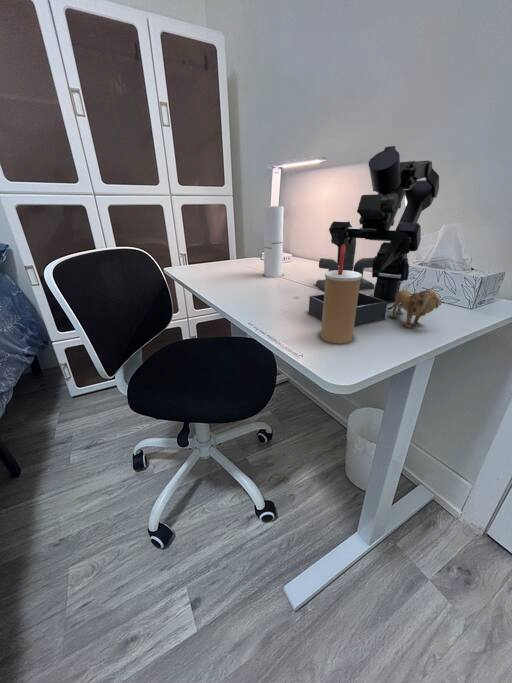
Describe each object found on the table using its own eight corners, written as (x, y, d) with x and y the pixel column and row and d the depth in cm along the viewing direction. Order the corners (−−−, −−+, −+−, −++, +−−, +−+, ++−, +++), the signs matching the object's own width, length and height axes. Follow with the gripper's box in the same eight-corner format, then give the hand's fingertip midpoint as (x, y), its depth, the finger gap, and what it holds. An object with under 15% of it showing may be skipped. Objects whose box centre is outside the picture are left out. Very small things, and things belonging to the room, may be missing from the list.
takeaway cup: (339, 328, 67) (349, 241, 58) (360, 340, 61) (375, 245, 52) (313, 333, 64) (320, 243, 56) (332, 346, 58) (343, 248, 50)
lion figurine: (438, 331, 64) (449, 291, 60) (417, 334, 63) (427, 293, 59) (395, 310, 77) (402, 276, 73) (377, 311, 76) (383, 277, 72)
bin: (351, 305, 81) (353, 289, 79) (384, 319, 71) (388, 301, 69) (308, 312, 76) (309, 296, 74) (337, 329, 66) (339, 310, 64)
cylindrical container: (282, 277, 113) (284, 206, 102) (264, 277, 113) (264, 206, 102) (281, 272, 120) (282, 206, 109) (264, 273, 120) (263, 206, 109)
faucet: (354, 277, 111) (361, 220, 102) (375, 288, 96) (385, 223, 88) (308, 279, 109) (312, 222, 100) (322, 291, 94) (328, 225, 86)
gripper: (336, 181, 64) (308, 238, 61) (431, 176, 54) (402, 245, 51) (347, 218, 73) (322, 270, 70) (429, 220, 63) (405, 281, 60)
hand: (358, 266), depth 62 cm, fingers open, 9 cm apart
